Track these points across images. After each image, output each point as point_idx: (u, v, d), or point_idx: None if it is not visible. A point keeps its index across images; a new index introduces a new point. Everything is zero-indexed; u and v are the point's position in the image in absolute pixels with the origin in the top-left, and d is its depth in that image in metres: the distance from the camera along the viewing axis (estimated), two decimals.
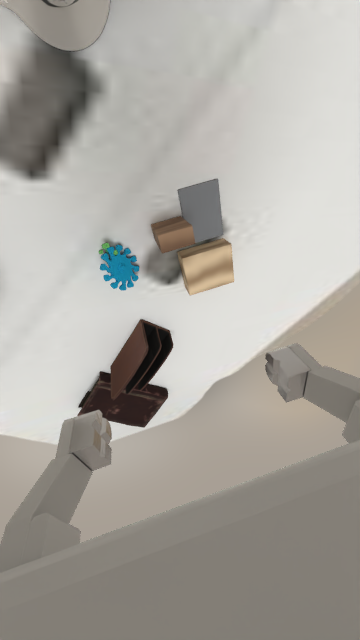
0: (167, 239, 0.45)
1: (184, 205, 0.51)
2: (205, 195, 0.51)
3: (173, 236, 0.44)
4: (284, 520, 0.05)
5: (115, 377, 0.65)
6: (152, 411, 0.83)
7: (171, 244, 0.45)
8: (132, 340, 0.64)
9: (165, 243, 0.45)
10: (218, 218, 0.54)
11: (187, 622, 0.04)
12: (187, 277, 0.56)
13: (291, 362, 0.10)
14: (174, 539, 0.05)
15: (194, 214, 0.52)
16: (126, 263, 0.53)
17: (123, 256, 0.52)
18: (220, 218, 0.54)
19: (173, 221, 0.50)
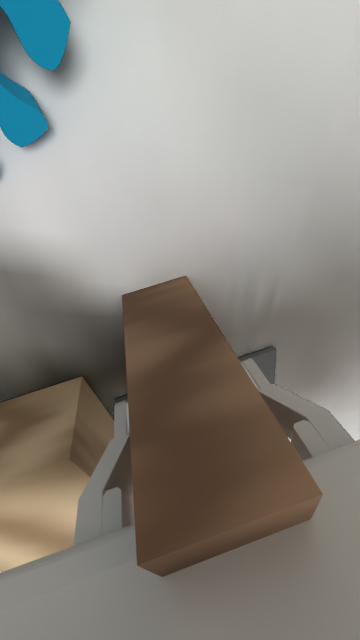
0: None
1: None
2: None
3: None
4: None
5: None
6: None
7: None
8: None
9: (233, 543, 0.05)
10: None
11: (187, 623, 0.04)
12: None
13: None
14: None
15: None
16: None
17: None
18: None
19: None
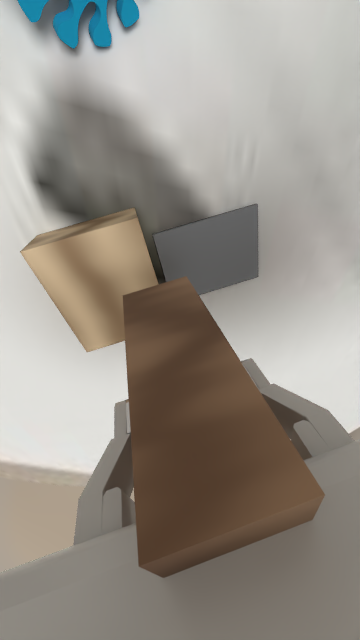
0: None
1: (229, 220, 0.26)
2: (239, 259, 0.29)
3: None
4: None
5: None
6: None
7: None
8: None
9: (235, 543, 0.05)
10: (200, 289, 0.30)
11: (187, 623, 0.04)
12: (81, 238, 0.19)
13: None
14: None
15: (211, 242, 0.27)
16: None
17: None
18: (200, 292, 0.30)
19: None
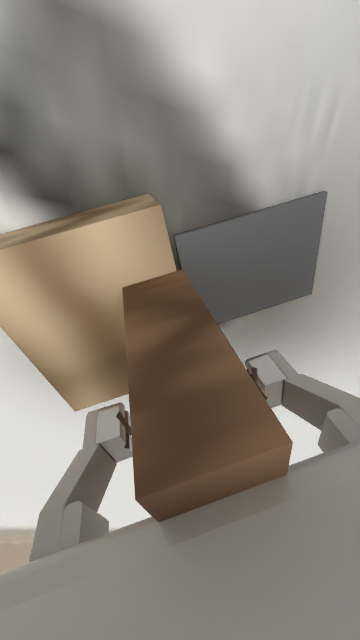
0: (245, 489, 0.06)
1: (285, 214, 0.17)
2: (291, 271, 0.20)
3: None
4: (284, 520, 0.05)
5: None
6: None
7: None
8: None
9: (219, 489, 0.05)
10: (235, 312, 0.22)
11: (187, 623, 0.04)
12: (61, 240, 0.11)
13: (268, 370, 0.10)
14: (174, 539, 0.05)
15: (257, 248, 0.18)
16: None
17: None
18: (235, 315, 0.22)
19: None
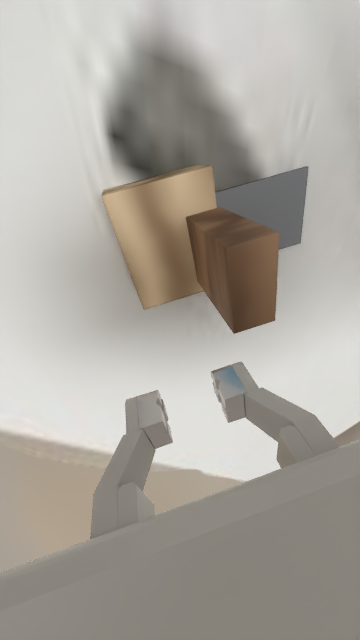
0: (261, 263, 0.15)
1: (281, 181, 0.27)
2: (285, 223, 0.30)
3: (265, 278, 0.16)
4: (284, 520, 0.05)
5: None
6: None
7: (245, 275, 0.15)
8: None
9: (252, 257, 0.15)
10: None
11: (187, 623, 0.04)
12: (159, 184, 0.20)
13: (230, 383, 0.10)
14: (174, 539, 0.05)
15: (262, 205, 0.28)
16: None
17: None
18: None
19: None
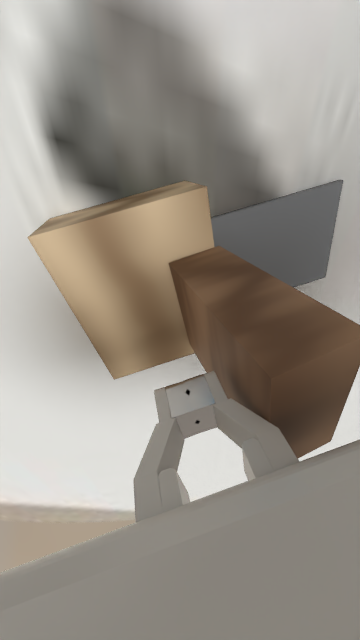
0: (330, 383, 0.08)
1: (304, 201, 0.19)
2: (307, 254, 0.22)
3: (330, 400, 0.08)
4: (284, 520, 0.05)
5: None
6: None
7: (299, 406, 0.08)
8: None
9: (316, 379, 0.07)
10: None
11: (187, 623, 0.04)
12: (122, 217, 0.13)
13: (200, 393, 0.09)
14: (174, 539, 0.05)
15: (278, 232, 0.20)
16: None
17: None
18: None
19: None
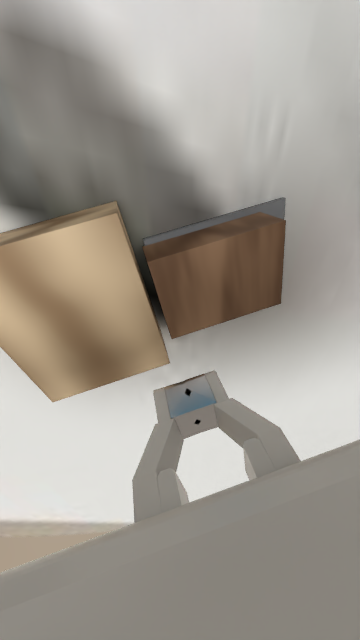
0: None
1: None
2: None
3: None
4: (284, 520, 0.05)
5: None
6: None
7: None
8: None
9: None
10: None
11: (187, 623, 0.04)
12: (28, 245, 0.12)
13: (201, 393, 0.09)
14: (174, 539, 0.05)
15: None
16: None
17: None
18: None
19: None
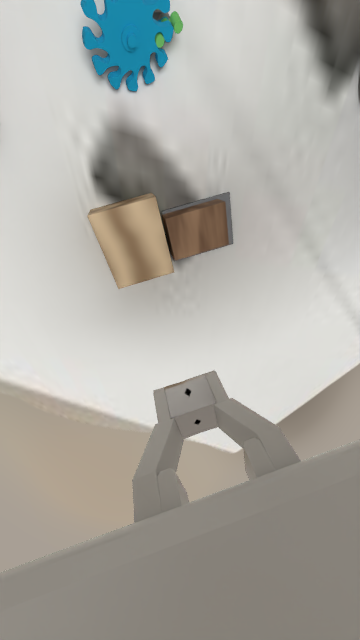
0: None
1: None
2: None
3: None
4: (284, 520, 0.05)
5: None
6: None
7: None
8: None
9: None
10: None
11: (187, 623, 0.04)
12: (122, 208, 0.33)
13: (201, 393, 0.09)
14: (174, 539, 0.05)
15: None
16: (133, 57, 0.27)
17: (146, 58, 0.27)
18: None
19: None
